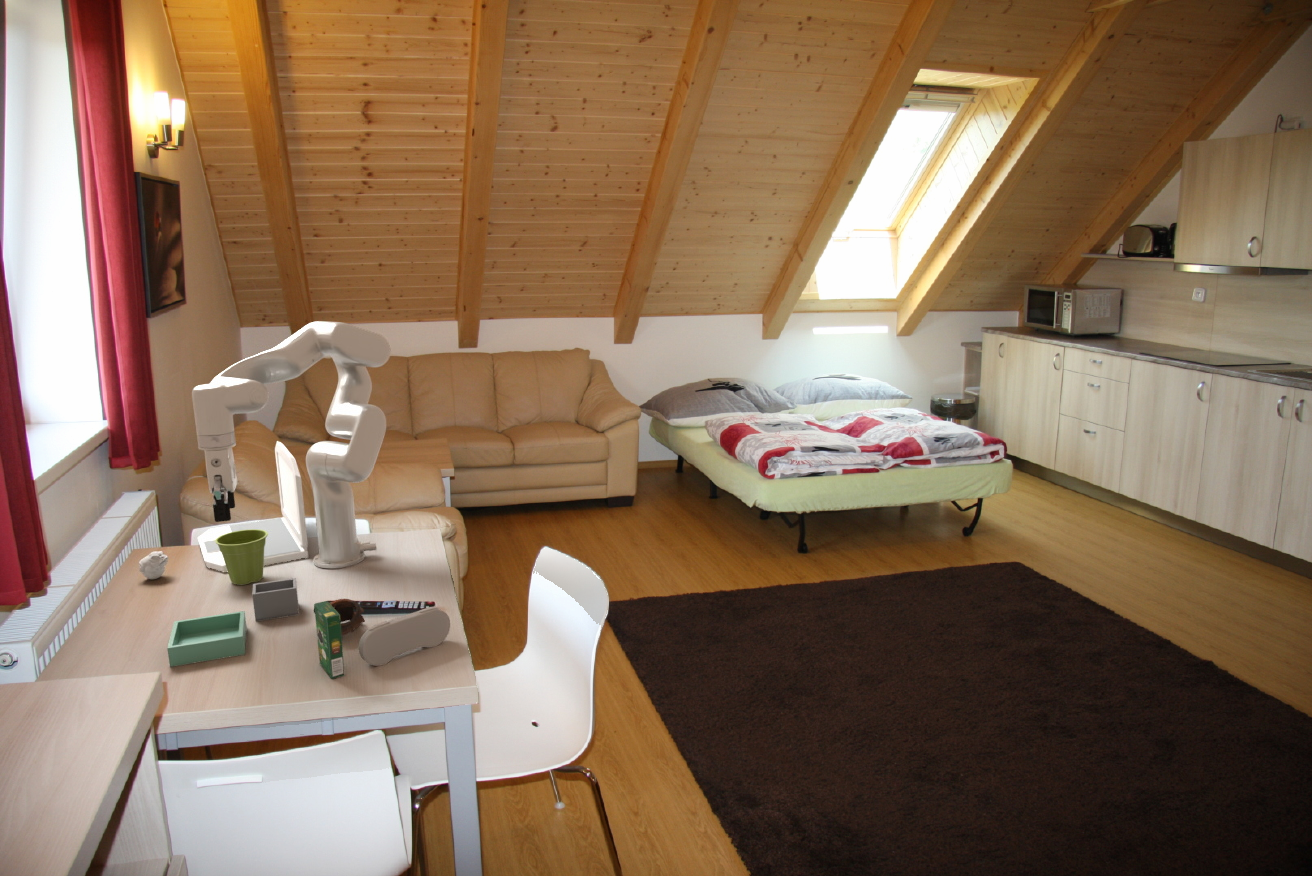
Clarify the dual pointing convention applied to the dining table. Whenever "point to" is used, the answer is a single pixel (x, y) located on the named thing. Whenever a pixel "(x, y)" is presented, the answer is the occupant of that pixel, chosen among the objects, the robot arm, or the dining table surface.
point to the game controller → (404, 635)
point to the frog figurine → (153, 565)
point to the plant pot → (243, 554)
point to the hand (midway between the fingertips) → (225, 514)
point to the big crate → (207, 638)
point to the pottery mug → (348, 614)
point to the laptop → (271, 521)
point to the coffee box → (329, 639)
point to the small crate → (275, 599)
